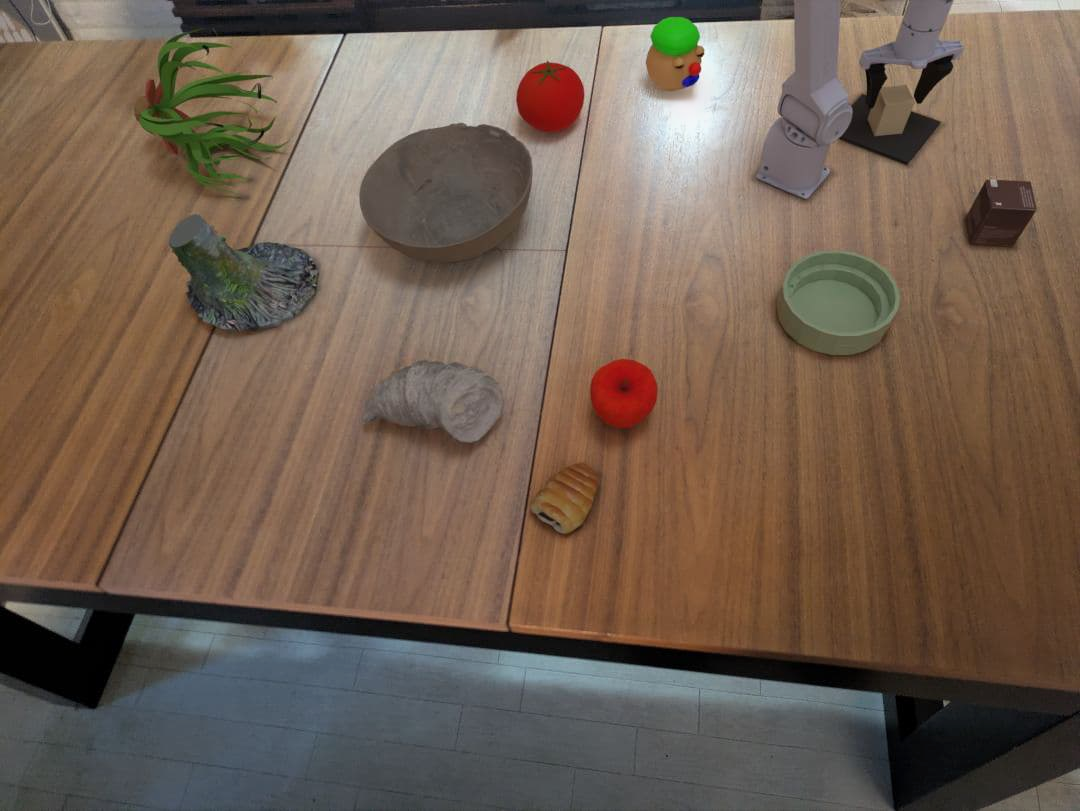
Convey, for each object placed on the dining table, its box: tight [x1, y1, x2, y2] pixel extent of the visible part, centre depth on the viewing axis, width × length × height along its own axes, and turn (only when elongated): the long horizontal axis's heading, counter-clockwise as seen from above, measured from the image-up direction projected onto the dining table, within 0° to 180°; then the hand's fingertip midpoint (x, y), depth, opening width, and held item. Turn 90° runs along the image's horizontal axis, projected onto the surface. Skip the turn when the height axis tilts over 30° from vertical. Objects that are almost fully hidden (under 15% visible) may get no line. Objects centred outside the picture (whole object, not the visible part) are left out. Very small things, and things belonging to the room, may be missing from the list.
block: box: [868, 84, 916, 136], centre depth 117 cm, size 4×4×6 cm
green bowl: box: [776, 249, 901, 356], centre depth 99 cm, size 15×15×5 cm
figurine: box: [645, 16, 706, 92], centre depth 126 cm, size 11×10×12 cm
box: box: [965, 179, 1038, 247], centre depth 103 cm, size 6×6×7 cm
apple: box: [589, 358, 659, 429], centre depth 93 cm, size 9×9×8 cm
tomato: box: [515, 59, 585, 133], centre depth 125 cm, size 11×12×10 cm
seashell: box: [361, 359, 505, 444], centre depth 94 cm, size 16×15×10 cm
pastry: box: [530, 461, 599, 535], centre depth 89 cm, size 9×7×4 cm
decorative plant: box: [133, 28, 290, 197], centre depth 125 cm, size 26×25×30 cm
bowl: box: [358, 122, 534, 264], centre depth 114 cm, size 28×28×10 cm
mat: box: [838, 93, 941, 166], centre depth 119 cm, size 14×12×1 cm
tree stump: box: [168, 213, 320, 332], centre depth 109 cm, size 18×20×18 cm
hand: (893, 102), depth 115 cm, fingers open, 7 cm apart
